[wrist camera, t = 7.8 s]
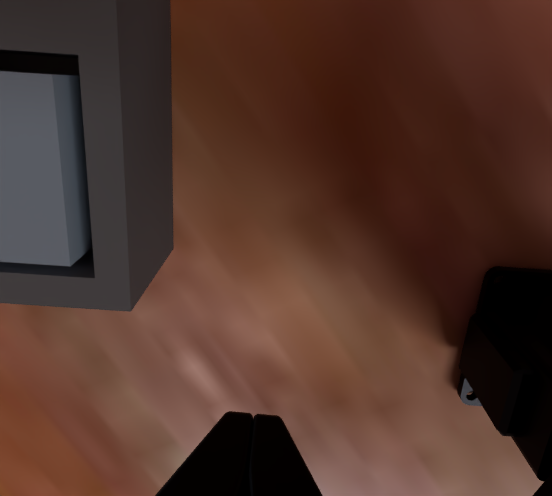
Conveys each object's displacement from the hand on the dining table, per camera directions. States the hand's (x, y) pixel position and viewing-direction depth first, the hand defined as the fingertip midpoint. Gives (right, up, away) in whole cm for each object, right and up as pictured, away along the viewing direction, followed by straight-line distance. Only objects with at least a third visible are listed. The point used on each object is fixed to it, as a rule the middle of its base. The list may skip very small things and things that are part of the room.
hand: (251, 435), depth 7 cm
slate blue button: (-8, +6, +9) cm, 13 cm away
